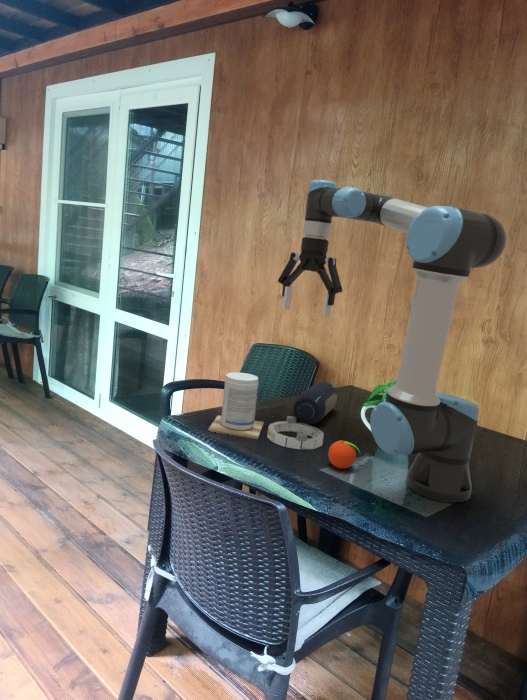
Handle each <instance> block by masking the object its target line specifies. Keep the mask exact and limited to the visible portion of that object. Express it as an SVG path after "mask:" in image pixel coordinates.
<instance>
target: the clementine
mask: <svg viewBox="0 0 527 700" xmlns="http://www.w3.org/2000/svg"><path fill="white" fill-rule="evenodd" d="M356 450H358V452H359V454H361V452H360V450H359V448H358V447H357V445H355V444H354V443H352V442H349V441H347V440H343V439H342V440H337V441H335V442H333V443H332V444H330V447H329V449H328V453H327V456H328V460H329V461H330V463H331V464H332V465H333V466H334V467H336V468H338V469H347V468H350V467H351V466H352V465H353V464H354V463H355V460H356V457H357V451H356Z"/></svg>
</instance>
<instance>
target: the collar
mask: <svg viewBox="0 0 527 700" xmlns="http://www.w3.org/2000/svg"><path fill="white" fill-rule="evenodd" d="M280 432H293V433H296V437H292V436H287V435H285V434H282V433H280ZM266 433H267V435H266V437H267V439H269V441H270V442H271V443H274V444H275V445H278V446H281V447H284V448H289V449H294V450H295V449H296V450H301V451H302V450H303V451H304V450H316V449H318V448H320V447H321V448H322V446H323V443H324V436H325V435H324V431H322V430H320V429H319V428H318V427H315V426H313V425H312V424H305V423H302V422H297V418H296V417H295V416H294V415H293V416H291V415H287V416H286V421H275V422H273V423H269V424H268V428H267V432H266ZM308 436H310V437H312V438H308Z"/></svg>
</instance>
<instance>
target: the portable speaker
mask: <svg viewBox="0 0 527 700" xmlns="http://www.w3.org/2000/svg"><path fill="white" fill-rule="evenodd" d="M338 400H339V394H338V391H337V388H336V387H335V386H333V384H332V383H330V382H326V381H319V382H317V383H315V384H313V385H312V386H310V387H309V388H308V389H306V390H305V391H303V392H302V393H301V394H299V395H298V396H297V397H296V398H295V400H294V402H293V404H292V413H293V416H294V417H296V421H299V423H304V424H308V425H313V424H317V423H319V422H320V421H322V420H323V418H324V417H325V416H326V415H327V414H329V412H331V410H333V409H334V407H335V406H337V403H338Z"/></svg>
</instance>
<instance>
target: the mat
mask: <svg viewBox="0 0 527 700" xmlns="http://www.w3.org/2000/svg"><path fill="white" fill-rule="evenodd" d="M221 417H222V414H221V415H220V414H217V415H216V417H215V419H214V420H213V422H212V423H211V425H210V426H209V428H207V432H208V431H210V432H209V433H214V432H216V433H215V434H221V433H222V435H227V434H229V435H228V436H233V435H234V437H241V438H246V439H254V440H259V438H260V435H261V431H262V428H263V427H264V424H265V422H264V421H259V420H254V426H253V427H252V428H250V429H247V430H234V429H230V428H227V427H225V426H223V425H222V423H221Z"/></svg>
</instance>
